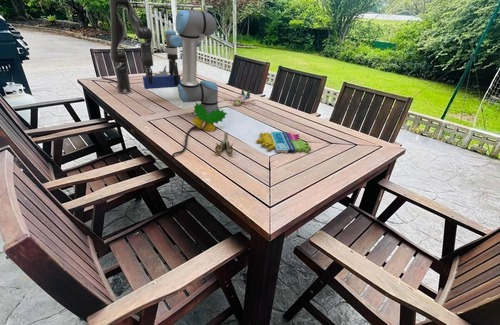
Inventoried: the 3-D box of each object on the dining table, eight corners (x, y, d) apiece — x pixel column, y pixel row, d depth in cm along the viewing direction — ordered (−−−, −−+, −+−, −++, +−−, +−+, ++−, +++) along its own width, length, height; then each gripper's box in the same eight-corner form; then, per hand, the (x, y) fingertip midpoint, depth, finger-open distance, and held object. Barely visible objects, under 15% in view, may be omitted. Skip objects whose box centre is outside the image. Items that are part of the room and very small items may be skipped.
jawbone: (234, 135, 144) (233, 125, 135) (233, 160, 138) (232, 151, 129) (217, 135, 144) (216, 125, 135) (216, 160, 138) (214, 150, 129)
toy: (261, 91, 228) (254, 99, 202) (261, 99, 231) (253, 108, 205) (231, 87, 233) (220, 95, 207) (230, 95, 236) (219, 104, 210)
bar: (178, 85, 210) (178, 74, 206) (180, 86, 206) (180, 75, 202) (144, 87, 197) (142, 76, 193) (145, 89, 194) (144, 77, 190)
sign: (313, 150, 142) (258, 149, 139) (312, 153, 143) (258, 152, 140) (301, 132, 164) (254, 130, 161) (301, 134, 165) (254, 133, 162)
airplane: (141, 75, 284) (140, 65, 279) (171, 73, 297) (170, 64, 292) (147, 84, 255) (146, 73, 250) (179, 82, 269) (178, 72, 264)
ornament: (218, 133, 171) (224, 110, 169) (221, 134, 163) (227, 111, 161) (186, 125, 162) (192, 101, 160) (189, 126, 155) (195, 101, 153)
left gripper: (139, 57, 191) (142, 81, 199) (143, 60, 180) (146, 85, 189) (150, 57, 194) (152, 80, 203) (154, 60, 184) (157, 84, 192)
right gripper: (163, 51, 201) (165, 81, 212) (171, 56, 184) (174, 87, 195) (172, 51, 204) (175, 80, 215) (182, 56, 188) (183, 87, 199)
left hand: (149, 82), depth 196 cm, fingers closed on bar, 5 cm apart
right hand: (174, 84), depth 205 cm, fingers open, 10 cm apart
